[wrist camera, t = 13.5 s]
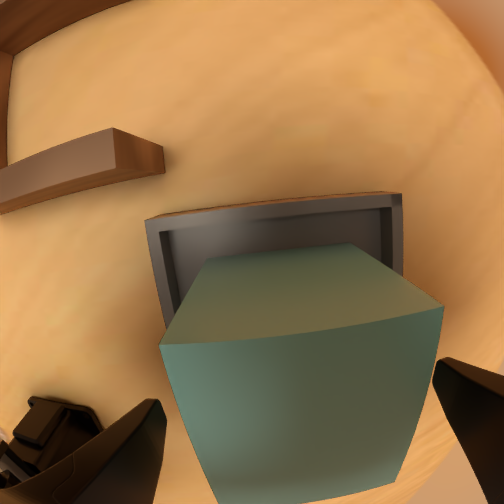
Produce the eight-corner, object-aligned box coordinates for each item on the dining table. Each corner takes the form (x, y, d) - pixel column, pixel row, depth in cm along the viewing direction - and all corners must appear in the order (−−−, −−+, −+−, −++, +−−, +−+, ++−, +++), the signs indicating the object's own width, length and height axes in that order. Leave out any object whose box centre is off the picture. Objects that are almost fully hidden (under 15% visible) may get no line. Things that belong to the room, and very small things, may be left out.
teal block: (347, 376, 14) (394, 482, 7) (230, 391, 14) (221, 508, 7) (349, 242, 12) (444, 305, 5) (207, 258, 12) (158, 344, 5)
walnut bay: (165, 172, 12) (116, 167, 7) (0, 214, 12) (-60, 229, 8) (156, -21, 10) (128, -75, 5) (4, 49, 10) (-43, 31, 5)
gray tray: (374, 387, 15) (386, 409, 13) (202, 409, 15) (198, 433, 13) (381, 191, 12) (401, 193, 10) (159, 215, 13) (144, 220, 11)
